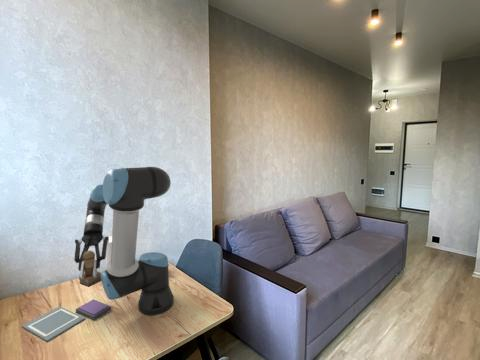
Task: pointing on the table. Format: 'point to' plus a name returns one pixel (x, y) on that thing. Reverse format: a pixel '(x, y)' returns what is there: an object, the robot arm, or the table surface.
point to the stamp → (89, 270)
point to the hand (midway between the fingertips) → (88, 276)
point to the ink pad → (93, 309)
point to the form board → (53, 323)
